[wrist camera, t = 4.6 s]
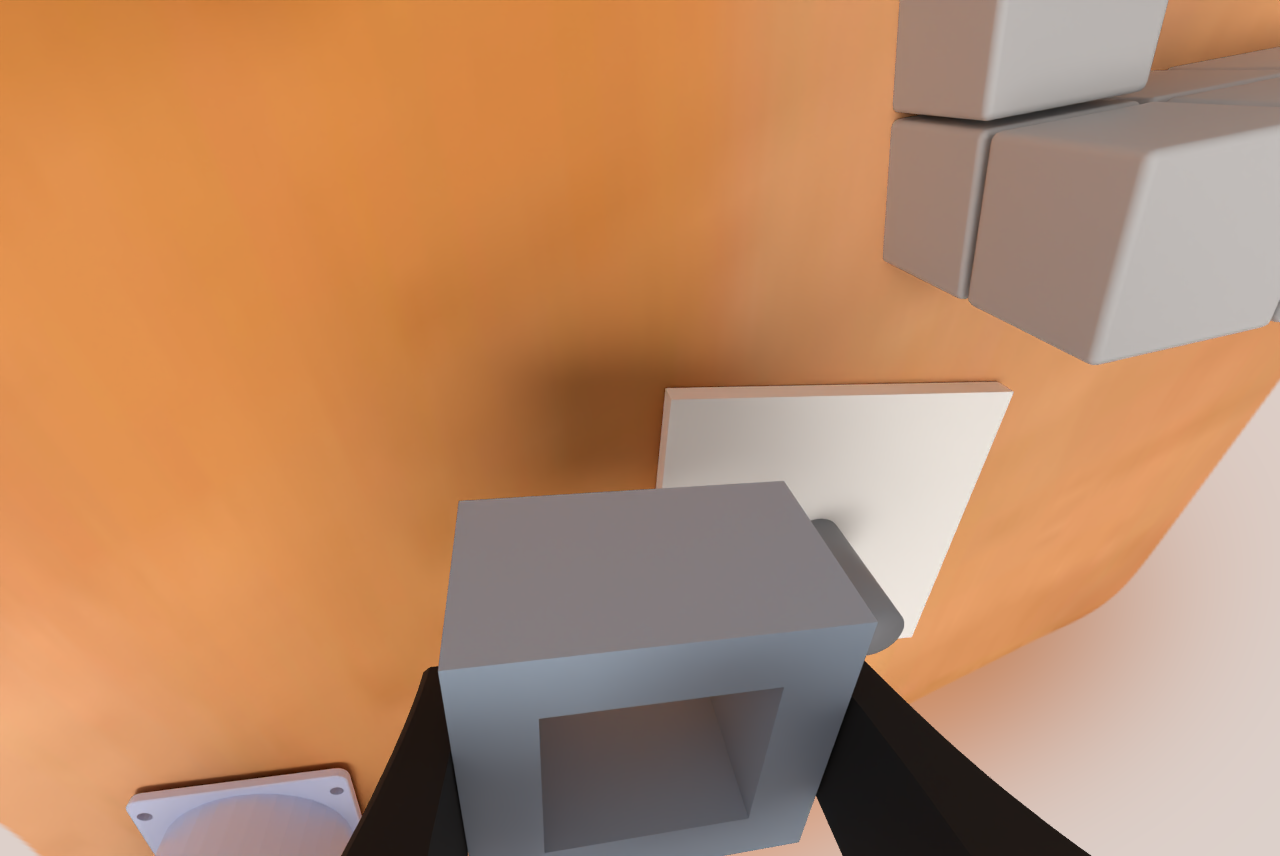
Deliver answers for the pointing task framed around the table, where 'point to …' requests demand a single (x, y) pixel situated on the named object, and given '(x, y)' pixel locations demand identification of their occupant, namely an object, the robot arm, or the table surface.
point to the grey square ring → (644, 670)
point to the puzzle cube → (1084, 174)
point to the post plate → (849, 470)
